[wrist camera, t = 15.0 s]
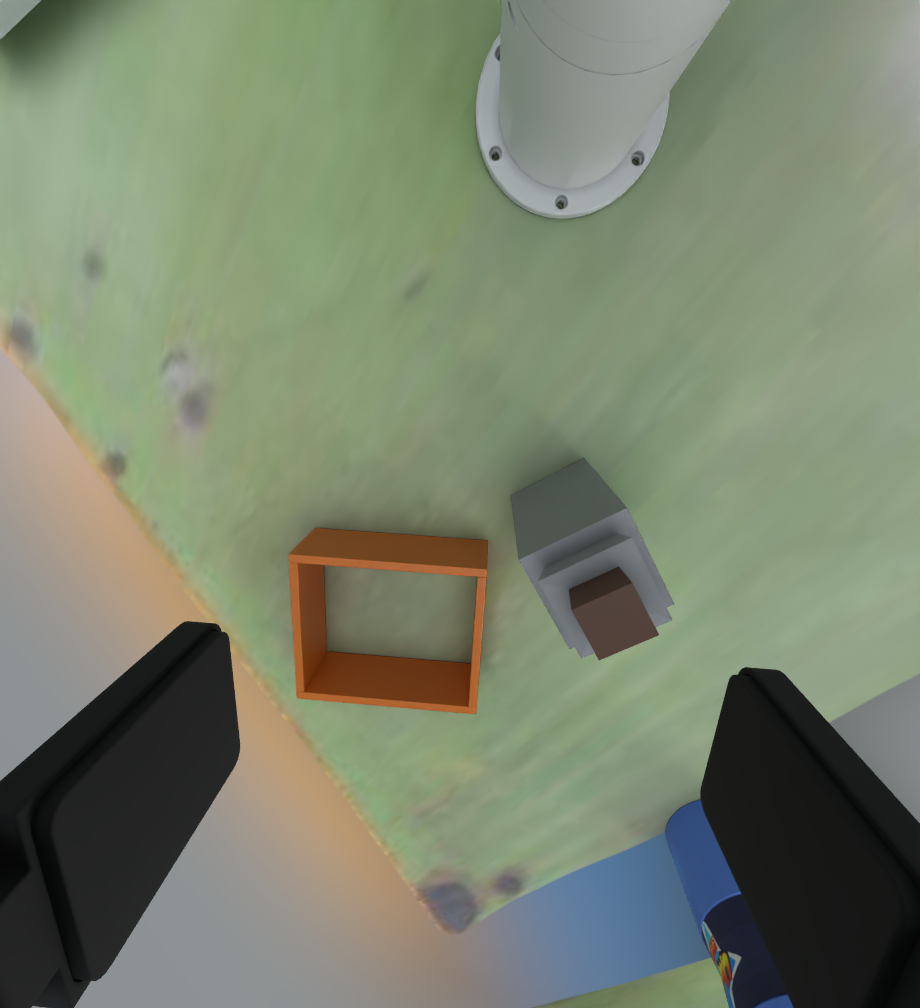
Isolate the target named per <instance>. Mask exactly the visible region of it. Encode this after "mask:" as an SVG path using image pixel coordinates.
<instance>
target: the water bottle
mask: <svg viewBox="0 0 920 1008" xmlns="http://www.w3.org/2000/svg"><path fill="white" fill-rule="evenodd" d="M666 840H667V843H668V846H669V848H670V851H671V854H672V857H673V860H674V863H675V865H676V868H677V871H678V874H679V877H680V879H681V882H682V885H683V888H684V891H685V893H686V896H687V899H688V902H689V904H690V907H691V910H692V913H693V915H694V918H695V921H696V923H697V926H698V929H699V932H700V935H701V937H702V940H703V941H704V943H705V945H706V947H707V949H708V951H709V953H710V955H711V957H712V959H713V961H714V964H715V966H716V968H717V970H718V972H719V974H720V976H721V979H722V982H723V986H724V990H725V993H726V997H727V1001H728V1005H729V1008H793V1006H792V1003H791V1001H790V999H789V997H788V995H787V992H786V990H785V988H784V986H783V984H782V982H781V979H780V977H779V975H778V973H777V971H776V968H775V966H774V964H773V962H772V960H771V958H770V955H769V953H768V951H767V949H766V947H765V944H764V942H763V940H762V938H761V936H760V934H759V931H758V929H757V927H756V925H755V923H754V921H753V918H752V916H751V914H750V912H749V910H748V907H747V905H746V903H745V901H744V899H743V897H742V894H741V892H740V890H739V888H738V886H737V883H736V881H735V879H734V877H733V875H732V873H731V870H730V868H729V866H728V864H727V862H726V859H725V857H724V855H723V853H722V851H721V849H720V846H719V844H718V842H717V840H716V838H715V835H714V833H713V831H712V829H711V827H710V825H709V822H708V820H707V818H706V816H705V814H704V811H703V808H702V804H701V800H698V801H694V802H692V803H689V804H687V805H685V806H683V807H682V808H680V809H679V810H678V811H677V812H675V813H674V814H673V816H672V817H671V818H670V820H669V822H668V824H667V827H666Z"/></svg>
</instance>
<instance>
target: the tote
mask: <svg viewBox="0 0 920 1008" xmlns="http://www.w3.org/2000/svg"><path fill="white" fill-rule="evenodd" d="M288 556H289V571H290V588H291V605H292V622H293V640H294V657H295V674H296V691H297V692H296V694H297V698H299V699H310V700H322V701H333V702H344V703H355V704H366V705H378V706H389V707H400V708H411V709H423V710H434V711H445V712H456V713H468V714H476V710H477V697H478V684H479V670H480V657H481V644H482V631H483V618H484V605H485V591H486V578H487V556H488V540H475V539H461V538H447V537H434V536H420V535H406V534H392V533H379V532H365V531H351V530H337V529H324V528H315V529H314V530H313V531H312V532H311V533H310V534H309V535H308V536H307V537H305V538H304V539H303V540H302V541H301V542H300V543H299V544H298V545H297V546H296V547H295V548H294V549H293V550H292V551H291V552H290V553H289V555H288ZM324 565H331V566H344V567H357V568H370V569H383V570H396V571H409V572H423V573H436V574H449V575H462V576H475V577H477V589H476V604H475V618H474V632H473V647H472V661H471V664H470V663H458V662H446V661H434V660H422V659H410V658H399V657H387V656H375V655H363V654H351V653H339V652H327V645H326V616H325V587H324Z"/></svg>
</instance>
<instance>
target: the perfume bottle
mask: <svg viewBox="0 0 920 1008" xmlns="http://www.w3.org/2000/svg"><path fill="white" fill-rule="evenodd" d="M511 502H512V510H513V517H514V525H515V533H516V541H517V549H518V557H519V561H520V563H521V565H522V566H523V568H524V570H525V572H526V573H527V575H528V577H529V579H530V580H531V582H532V584H533V586H534V588H535V589H536V591H537V593H538V595H539V596H540V598H541V600H542V602H543V603H544V605H545V607H546V609H547V610H548V612H549V614H550V616H551V617H552V619H553V621H554V623H555V625H556V626H557V628H558V630H559V632H560V633H561V635H562V637H563V639H564V640H565V642H566V644H567V646H568V647H569V649H571V648H574V647H575V648H576V650H577V652H578V654H579V655H580V657H581V658H583V657H586V656H588V655H590V654H593V653H595V654H596V656H597V658H598V659H599V660H601V659H603V658H606V657H608V656H610V655H613V654H615V653H618V652H620V651H622V650H625V649H627V648H629V647H632V646H634V645H637V644H639V643H641V642H644V641H646V640H649V639H651V638H653V637H656V636H658V635H659V634H658V632H657V630H656V628H655V627H657V626H659V625H661V624H664V623H666V622H668V621H671V620H672V618H671V616H670V614H669V612H668V610H667V607H669V606H671V605H674V602H673V600H672V598H671V596H670V594H669V592H668V590H667V588H666V586H665V584H664V582H663V580H662V578H661V576H660V574H659V572H658V570H657V568H656V565H655V563H654V561H653V559H652V557H651V555H650V553H649V551H648V549H647V547H646V545H645V543H644V541H643V539H642V537H641V535H640V533H639V531H638V529H637V527H636V525H635V523H634V521H633V519H632V517H631V515H630V512H629V510H628V508H627V507H626V506H625V505H624V504H623V502H622V501H621V500H620V499H619V498H618V497H617V495H616V494H615V493H614V492H613V491H612V490H611V489H610V487H609V486H608V485H607V484H606V483H605V482H604V480H603V479H602V478H601V477H600V476H599V475H598V474H597V472H596V471H595V470H594V469H593V468H592V467H591V465H590V464H589V463H588V462H587V461H586V460H585V459H584V458H583V459H581V460H579V461H577V462H575V463H573V464H571V465H569V466H567V467H565V468H563V469H561V470H559V471H557V472H555V473H553V474H552V475H550V476H548V477H546V478H544V479H542V480H540V481H538V482H536V483H534V484H532V485H530V486H528V487H526V488H524V489H522V490H520V491H518V492H516V493H514V494H512V495H511Z"/></svg>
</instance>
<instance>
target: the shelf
mask: <svg viewBox="0 0 920 1008" xmlns="http://www.w3.org/2000/svg"><path fill="white" fill-rule="evenodd" d="M40 1H41V0H0V39H2V38H3V37H4V36H5V35H6V34H7V33H8V32H9V31H10V30H11V29H12V28H13V27H14V26H15V25H16V24H17V23H18V22H19V21H20V20H21V19H22V18H23V17H24V16H26V15H27V14H28V13H29V12H30V11H31V10H32V9H33V8H34V7H35V6H36V5H37V4H38V3H39V2H40Z"/></svg>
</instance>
